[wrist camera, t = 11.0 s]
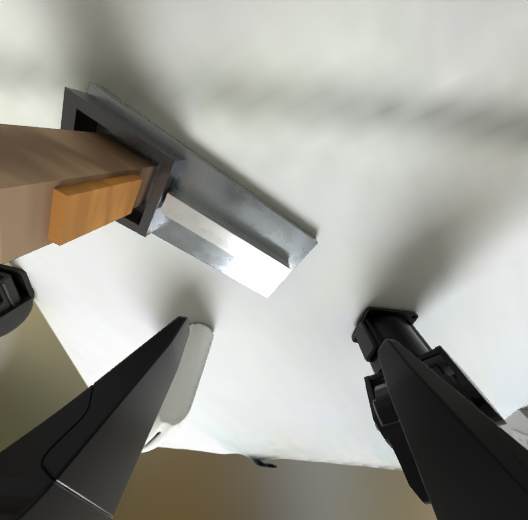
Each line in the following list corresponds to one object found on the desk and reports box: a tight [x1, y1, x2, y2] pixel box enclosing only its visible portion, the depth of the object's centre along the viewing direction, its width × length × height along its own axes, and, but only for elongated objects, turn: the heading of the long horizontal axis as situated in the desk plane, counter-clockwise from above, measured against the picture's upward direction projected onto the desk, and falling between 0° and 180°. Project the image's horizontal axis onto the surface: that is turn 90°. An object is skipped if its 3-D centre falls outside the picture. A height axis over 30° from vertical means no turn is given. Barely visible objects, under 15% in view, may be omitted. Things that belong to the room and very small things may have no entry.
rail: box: [61, 82, 318, 297], centre depth 18 cm, size 22×9×3 cm, turn 56°
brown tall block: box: [0, 124, 158, 264], centre depth 12 cm, size 5×4×11 cm
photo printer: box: [142, 323, 214, 452], centre depth 25 cm, size 10×4×12 cm, turn 140°
